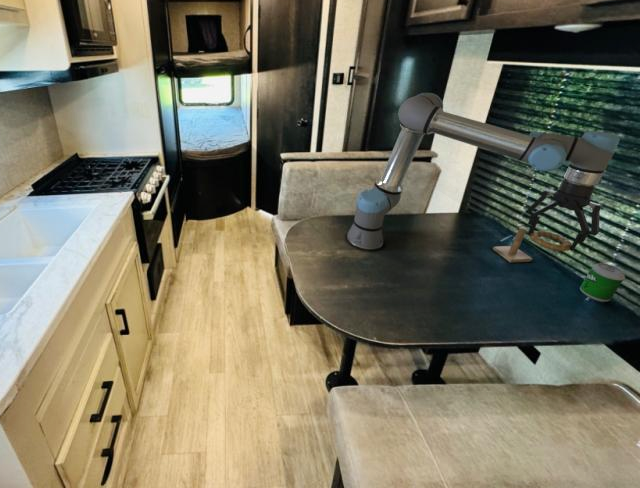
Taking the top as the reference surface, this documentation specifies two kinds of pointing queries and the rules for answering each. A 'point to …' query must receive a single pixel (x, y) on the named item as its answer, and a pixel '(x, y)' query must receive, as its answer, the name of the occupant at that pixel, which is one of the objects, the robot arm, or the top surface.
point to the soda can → (602, 282)
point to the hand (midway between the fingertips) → (550, 240)
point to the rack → (514, 249)
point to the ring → (539, 241)
